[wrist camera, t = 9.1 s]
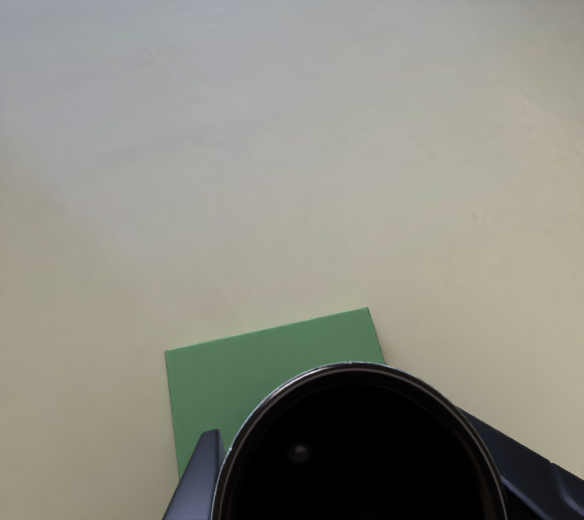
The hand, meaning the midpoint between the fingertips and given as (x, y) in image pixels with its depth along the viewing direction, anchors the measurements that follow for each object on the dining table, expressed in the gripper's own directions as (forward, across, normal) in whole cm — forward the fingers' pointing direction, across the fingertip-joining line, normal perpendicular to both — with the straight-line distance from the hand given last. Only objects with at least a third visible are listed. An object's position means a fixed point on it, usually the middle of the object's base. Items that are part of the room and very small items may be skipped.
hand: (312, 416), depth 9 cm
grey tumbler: (+4, 0, +6) cm, 7 cm away
